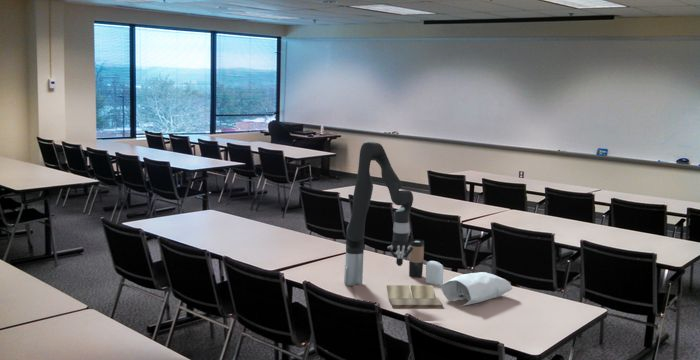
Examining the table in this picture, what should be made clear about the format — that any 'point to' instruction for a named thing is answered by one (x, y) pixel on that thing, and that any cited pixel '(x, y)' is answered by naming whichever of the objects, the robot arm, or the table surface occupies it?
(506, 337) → the table surface
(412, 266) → the travel mug
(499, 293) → the bag
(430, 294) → the oak plank right
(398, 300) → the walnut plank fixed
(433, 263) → the photo printer
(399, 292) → the oak plank left
